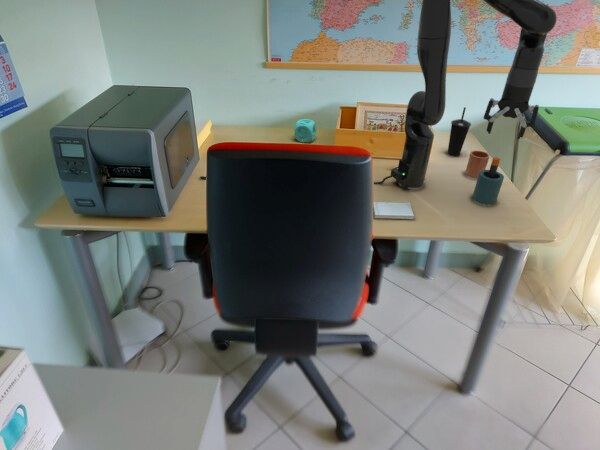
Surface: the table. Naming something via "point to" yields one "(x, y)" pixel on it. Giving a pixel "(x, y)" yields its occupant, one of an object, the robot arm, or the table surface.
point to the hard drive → (393, 210)
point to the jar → (487, 187)
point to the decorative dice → (305, 130)
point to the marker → (493, 167)
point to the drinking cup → (458, 135)
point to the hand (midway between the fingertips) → (503, 135)
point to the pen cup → (476, 163)
